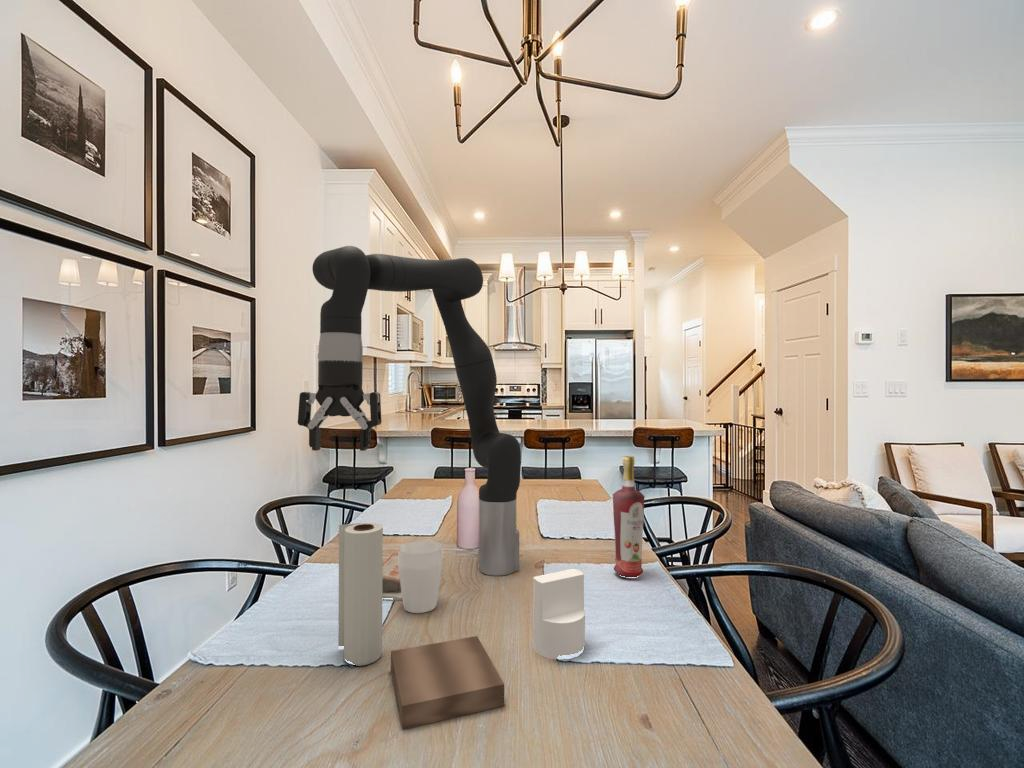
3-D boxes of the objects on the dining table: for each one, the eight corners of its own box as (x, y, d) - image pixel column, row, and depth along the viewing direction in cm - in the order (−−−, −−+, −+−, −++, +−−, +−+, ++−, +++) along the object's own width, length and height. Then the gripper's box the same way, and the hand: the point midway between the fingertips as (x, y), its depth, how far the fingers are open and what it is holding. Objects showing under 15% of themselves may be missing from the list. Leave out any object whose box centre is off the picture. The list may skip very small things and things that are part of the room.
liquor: (624, 583, 111) (624, 459, 111) (606, 572, 118) (606, 455, 118) (651, 578, 114) (651, 458, 114) (632, 567, 120) (632, 454, 120)
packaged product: (385, 549, 120) (425, 551, 119) (385, 569, 120) (425, 570, 119) (356, 578, 102) (403, 580, 101) (356, 601, 102) (403, 603, 101)
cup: (450, 600, 102) (450, 542, 102) (429, 619, 93) (429, 556, 93) (412, 594, 105) (412, 538, 105) (388, 612, 96) (388, 551, 96)
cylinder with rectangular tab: (550, 665, 78) (550, 590, 78) (523, 639, 86) (523, 571, 86) (595, 651, 82) (595, 580, 82) (565, 628, 90) (566, 563, 90)
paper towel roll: (387, 660, 79) (387, 528, 79) (348, 671, 76) (349, 534, 76) (374, 640, 85) (374, 518, 86) (338, 650, 82) (338, 523, 82)
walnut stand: (477, 654, 81) (477, 635, 81) (504, 705, 68) (504, 684, 68) (390, 670, 76) (390, 651, 76) (402, 729, 63) (402, 706, 63)
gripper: (385, 361, 91) (385, 448, 91) (310, 360, 92) (309, 447, 91) (373, 358, 84) (373, 453, 84) (291, 358, 84) (290, 452, 84)
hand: (339, 450), depth 88 cm, fingers open, 8 cm apart
